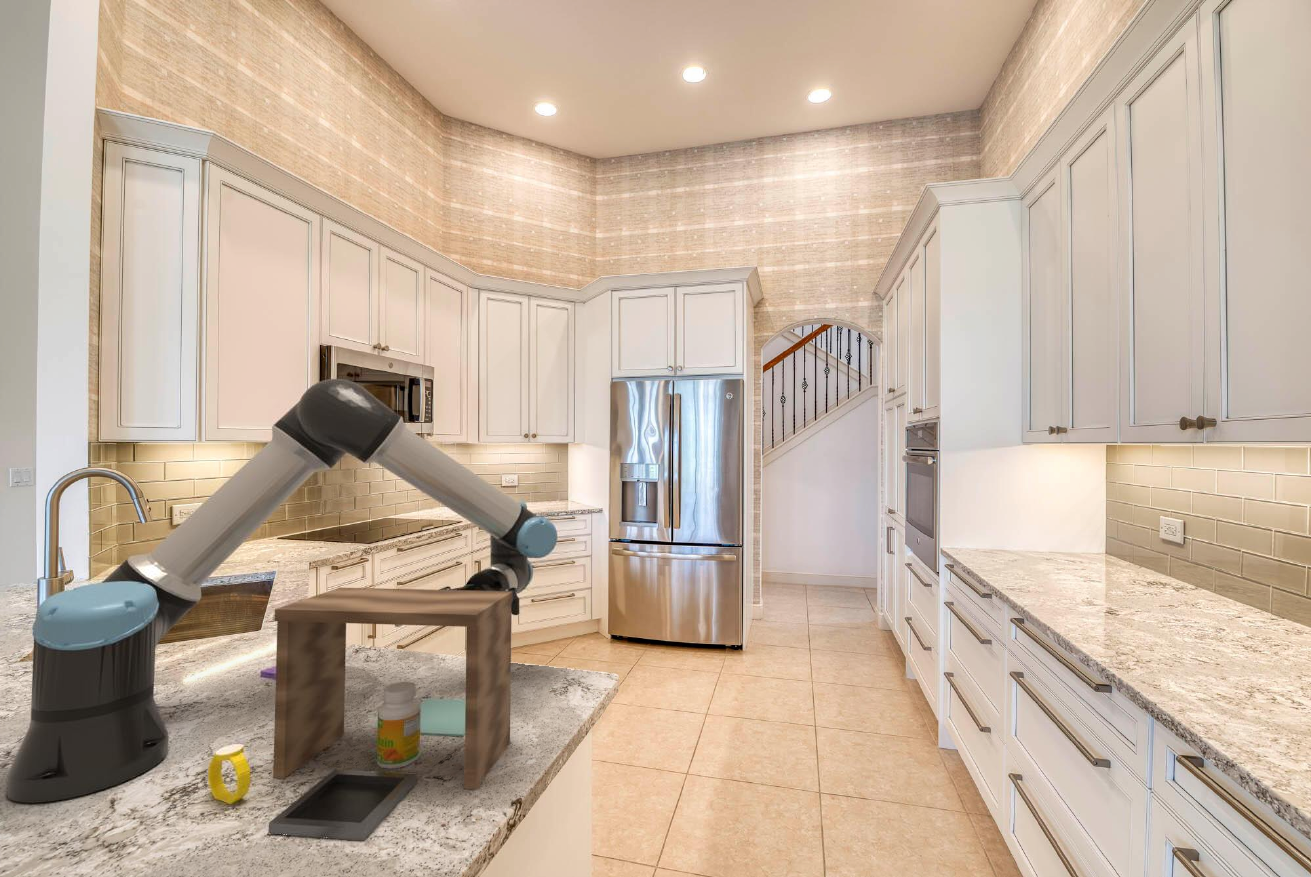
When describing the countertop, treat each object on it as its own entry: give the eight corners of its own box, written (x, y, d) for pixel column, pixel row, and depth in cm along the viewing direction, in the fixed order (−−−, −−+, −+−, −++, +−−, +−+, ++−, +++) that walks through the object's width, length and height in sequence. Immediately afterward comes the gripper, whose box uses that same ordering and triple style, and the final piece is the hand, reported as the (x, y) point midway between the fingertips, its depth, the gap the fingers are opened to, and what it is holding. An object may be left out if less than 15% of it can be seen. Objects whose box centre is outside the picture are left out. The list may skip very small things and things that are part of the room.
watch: (201, 802, 69) (200, 751, 69) (226, 790, 72) (225, 740, 72) (232, 810, 67) (231, 757, 67) (257, 797, 69) (256, 746, 70)
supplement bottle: (367, 763, 77) (369, 690, 78) (402, 746, 82) (403, 676, 82) (394, 773, 75) (396, 697, 75) (428, 755, 79) (429, 683, 80)
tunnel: (336, 732, 86) (339, 587, 87) (511, 740, 84) (512, 591, 84) (270, 779, 73) (274, 609, 74) (474, 791, 71) (476, 614, 71)
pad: (425, 699, 98) (425, 698, 98) (494, 702, 97) (494, 701, 97) (386, 732, 86) (386, 730, 86) (463, 736, 85) (463, 734, 85)
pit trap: (334, 778, 73) (334, 769, 74) (416, 783, 72) (416, 773, 72) (268, 834, 63) (268, 822, 63) (363, 840, 61) (364, 829, 61)
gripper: (555, 608, 109) (517, 644, 88) (429, 606, 111) (362, 641, 90) (554, 568, 109) (516, 595, 88) (429, 567, 112) (362, 593, 90)
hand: (438, 618), depth 89 cm, fingers open, 13 cm apart
